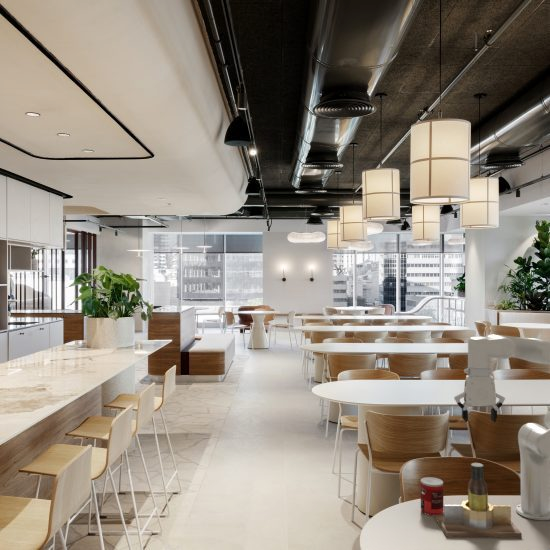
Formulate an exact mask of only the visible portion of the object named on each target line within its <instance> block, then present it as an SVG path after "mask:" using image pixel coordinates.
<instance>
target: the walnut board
mask: <svg viewBox="0 0 550 550" xmlns="http://www.w3.org/2000/svg"><path fill="white" fill-rule="evenodd" d="M436 518H437V519H436ZM435 519H436V521H437V520H438V521H437V523H438V522H439V523H438V525H439V524H440V525H439V526H440V528H441V530H442V529H443V530H442V532H443V531H444V532H443V533H445V534H444V535H445V537H446V538H480V537H498V538H499V539H500V538H501V539H502V538H503V539H504V538H506V539H521V538H523V535H522V532H521V531H520V529H519V528H518V527H517V526H516V525H515V524H514V522H512V520H511V524H494V525H493V527H492V528H491V529H488V530H476V529H471V528H468V527H466V526H464V525H463V524H444V513H442V514H436V516H435Z"/></svg>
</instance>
